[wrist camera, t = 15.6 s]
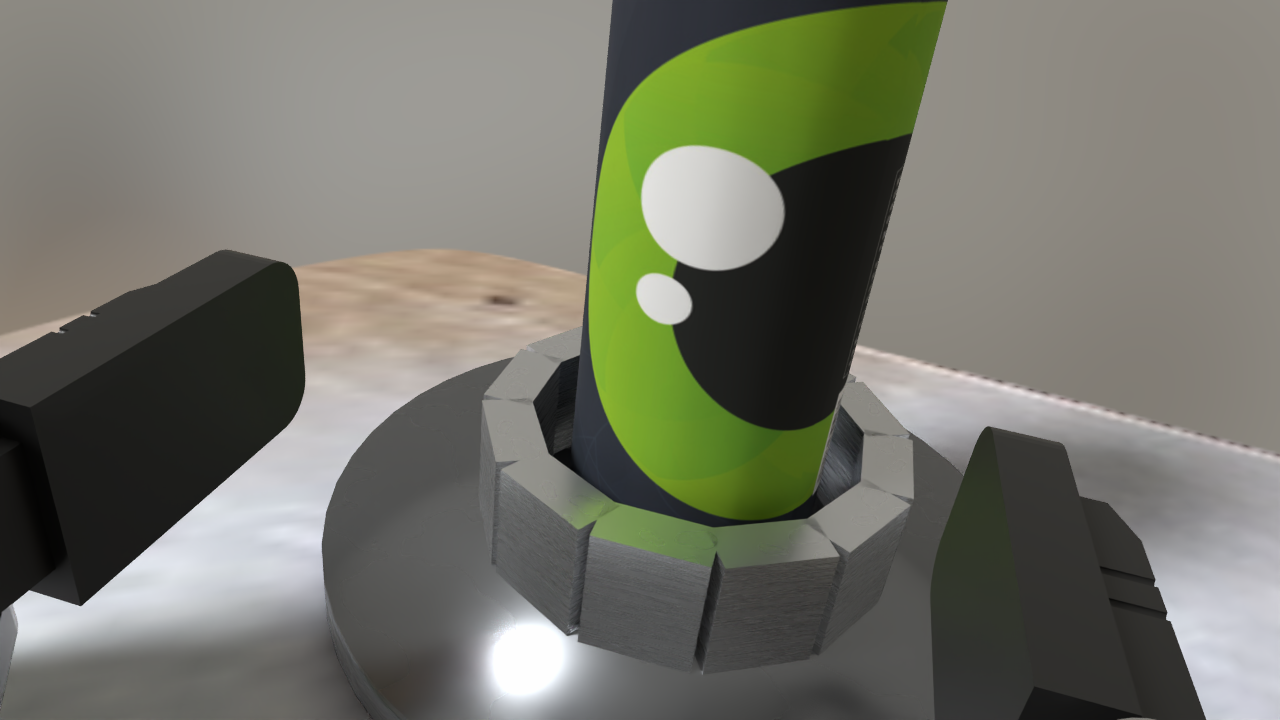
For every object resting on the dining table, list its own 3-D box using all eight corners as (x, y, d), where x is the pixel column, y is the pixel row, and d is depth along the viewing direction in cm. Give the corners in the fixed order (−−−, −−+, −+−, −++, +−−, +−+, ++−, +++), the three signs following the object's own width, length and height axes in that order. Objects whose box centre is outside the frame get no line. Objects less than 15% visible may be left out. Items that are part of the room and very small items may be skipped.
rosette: (990, 447, 30) (1031, 338, 28) (1081, 1022, 15) (1184, 876, 13) (494, 332, 33) (499, 226, 31) (146, 716, 18) (110, 557, 16)
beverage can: (686, 423, 27) (779, -136, 20) (851, 537, 24) (1042, -102, 16) (517, 495, 23) (556, -165, 16) (682, 644, 20) (831, -131, 12)
